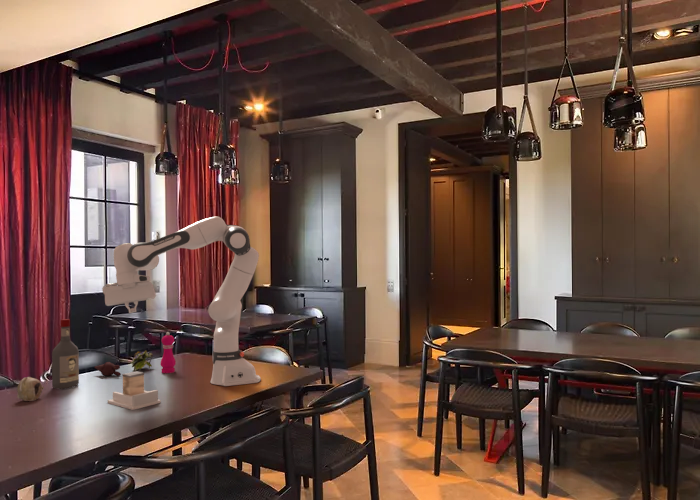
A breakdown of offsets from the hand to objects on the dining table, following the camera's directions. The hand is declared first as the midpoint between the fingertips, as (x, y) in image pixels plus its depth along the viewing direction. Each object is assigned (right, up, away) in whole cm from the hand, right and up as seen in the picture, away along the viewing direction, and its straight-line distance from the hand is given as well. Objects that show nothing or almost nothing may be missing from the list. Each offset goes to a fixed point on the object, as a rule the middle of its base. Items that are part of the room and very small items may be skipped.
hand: (132, 312), depth 231 cm
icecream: (-26, -35, +33) cm, 55 cm away
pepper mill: (+2, -35, +40) cm, 53 cm away
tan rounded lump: (-38, -35, -10) cm, 52 cm away
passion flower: (-14, -35, +47) cm, 60 cm away
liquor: (-35, -35, +12) cm, 51 cm away
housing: (+7, -34, -17) cm, 38 cm away
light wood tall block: (+7, -32, -17) cm, 37 cm away
